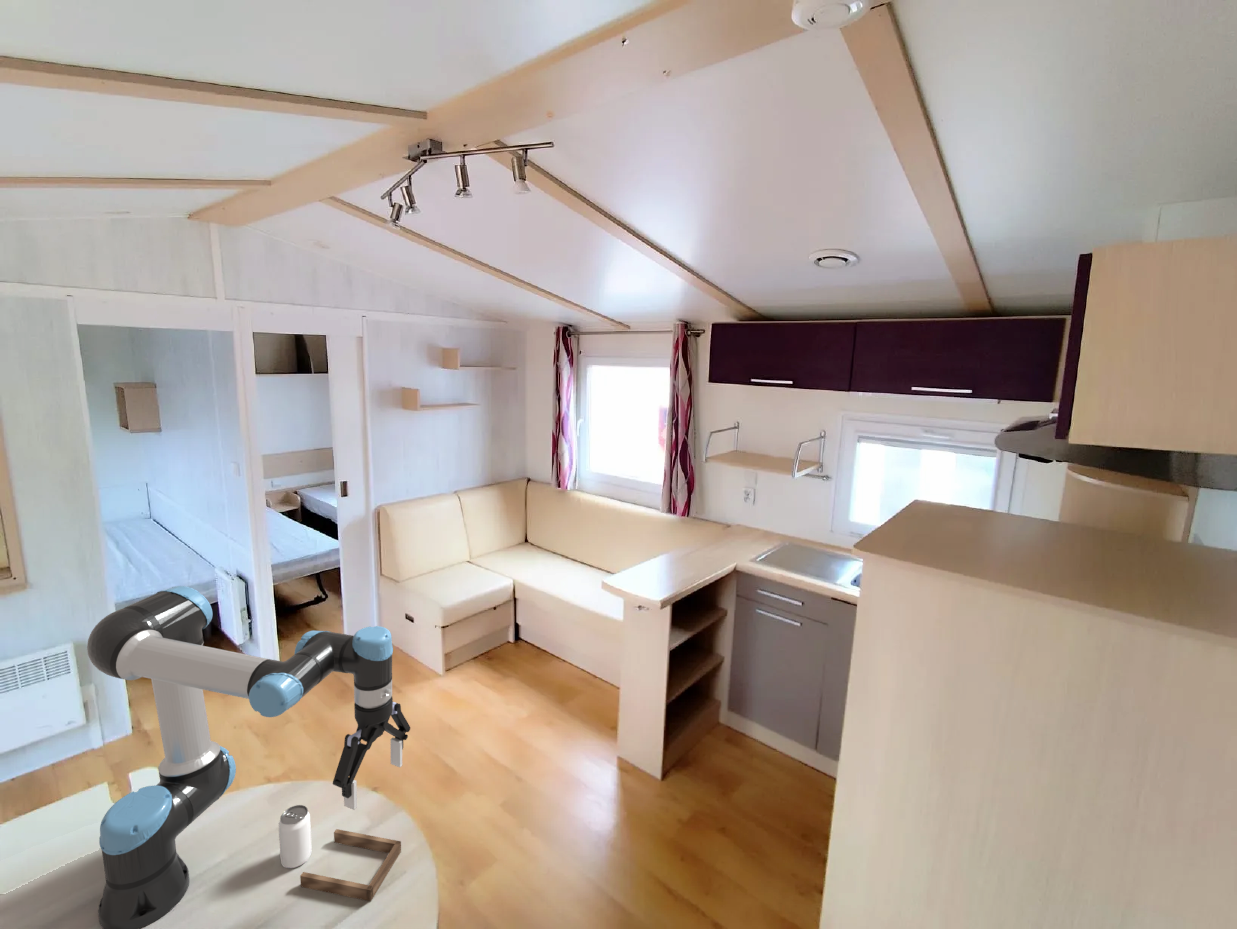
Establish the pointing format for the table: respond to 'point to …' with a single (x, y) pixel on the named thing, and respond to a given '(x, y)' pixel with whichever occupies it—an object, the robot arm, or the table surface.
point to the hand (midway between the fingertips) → (374, 784)
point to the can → (295, 836)
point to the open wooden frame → (351, 887)
